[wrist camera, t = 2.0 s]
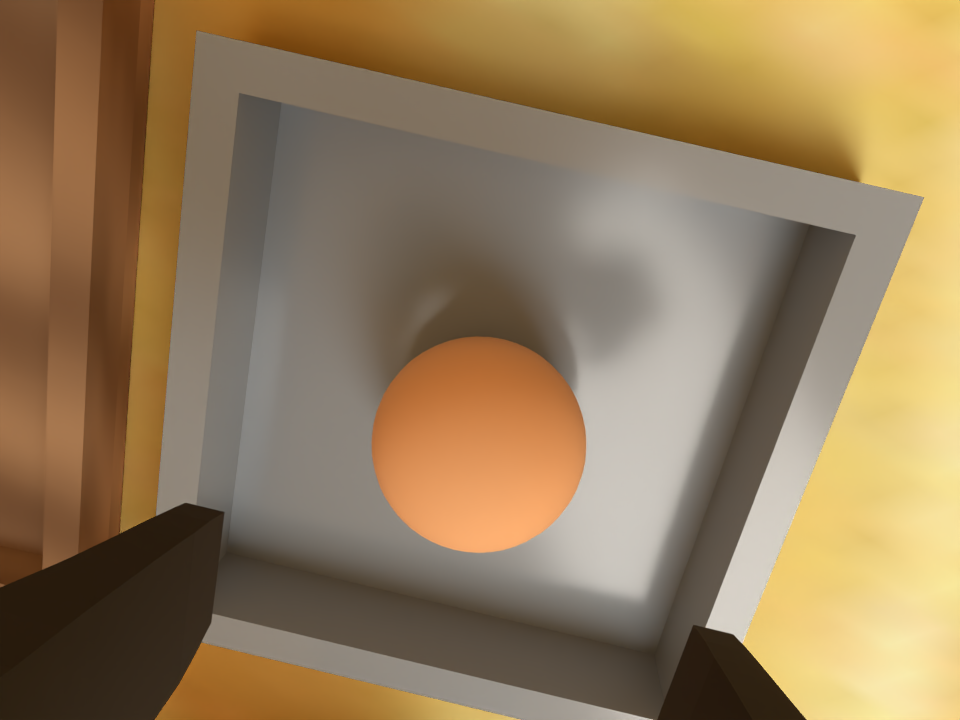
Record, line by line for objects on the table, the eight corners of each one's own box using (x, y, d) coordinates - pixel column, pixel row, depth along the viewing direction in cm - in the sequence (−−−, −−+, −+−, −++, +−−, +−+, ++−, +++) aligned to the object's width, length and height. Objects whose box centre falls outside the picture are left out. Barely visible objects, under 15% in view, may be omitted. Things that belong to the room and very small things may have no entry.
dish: (675, 679, 22) (694, 761, 19) (196, 564, 22) (146, 629, 19) (861, 185, 17) (924, 197, 15) (252, 46, 18) (196, 30, 15)
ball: (555, 506, 20) (558, 622, 15) (380, 464, 20) (330, 568, 16) (603, 338, 19) (622, 410, 14) (413, 293, 19) (368, 350, 14)
